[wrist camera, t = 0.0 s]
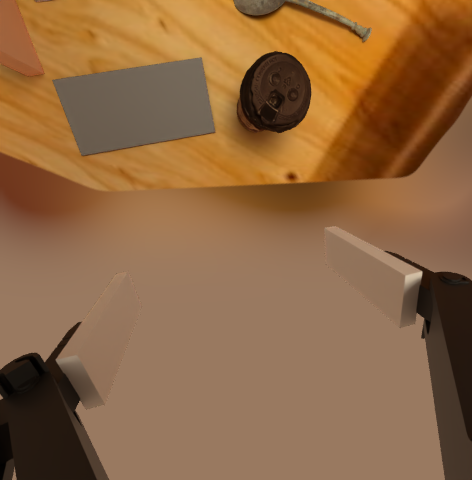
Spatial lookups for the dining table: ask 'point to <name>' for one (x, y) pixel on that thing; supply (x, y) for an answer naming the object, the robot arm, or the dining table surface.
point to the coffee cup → (274, 94)
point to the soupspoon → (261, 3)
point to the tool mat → (136, 105)
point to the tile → (16, 41)
